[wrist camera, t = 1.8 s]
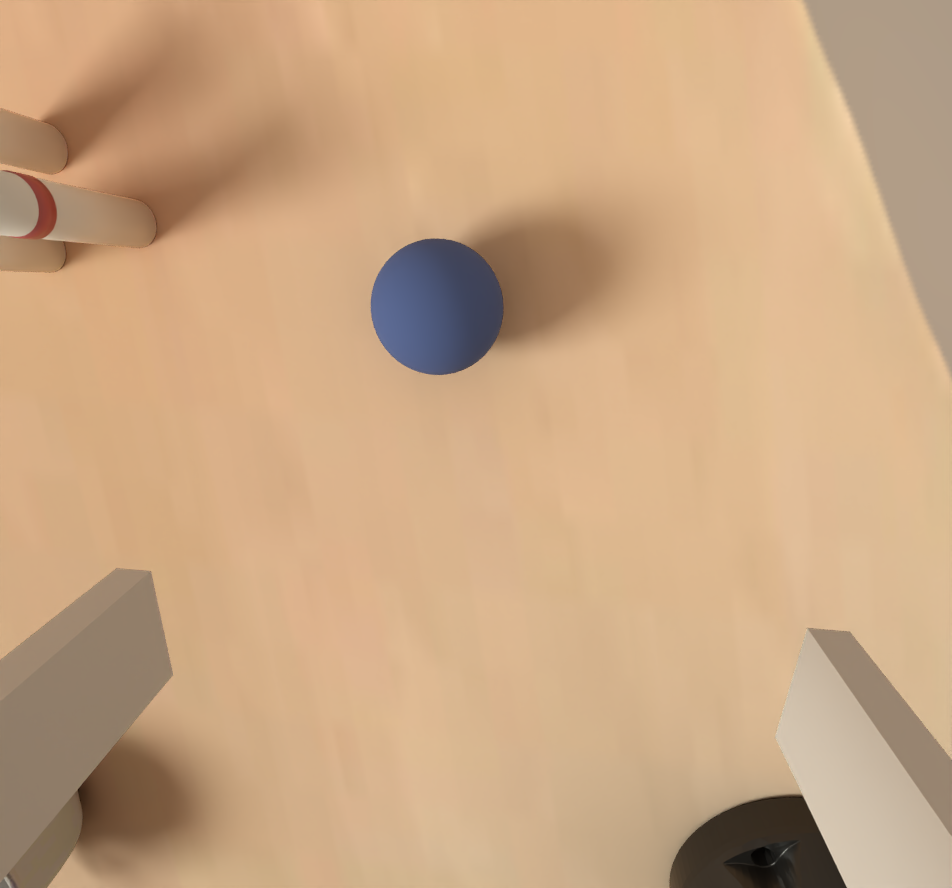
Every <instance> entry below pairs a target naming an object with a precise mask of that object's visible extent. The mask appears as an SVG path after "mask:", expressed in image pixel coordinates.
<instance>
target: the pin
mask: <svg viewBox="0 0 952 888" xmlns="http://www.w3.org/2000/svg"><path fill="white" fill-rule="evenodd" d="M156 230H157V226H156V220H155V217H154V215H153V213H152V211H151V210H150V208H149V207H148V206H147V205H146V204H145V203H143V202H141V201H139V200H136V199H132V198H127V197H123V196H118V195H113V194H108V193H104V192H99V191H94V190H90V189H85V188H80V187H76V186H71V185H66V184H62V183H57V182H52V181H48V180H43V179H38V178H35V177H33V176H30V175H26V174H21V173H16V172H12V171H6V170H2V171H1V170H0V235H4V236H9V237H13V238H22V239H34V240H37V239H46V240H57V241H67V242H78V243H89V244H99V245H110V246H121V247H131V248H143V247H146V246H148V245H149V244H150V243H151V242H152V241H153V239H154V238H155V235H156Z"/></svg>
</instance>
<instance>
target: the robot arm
mask: <svg viewBox="0 0 952 888" xmlns="http://www.w3.org/2000/svg"><path fill="white" fill-rule="evenodd" d="M172 675H173V672H172V667H171V663H170V658H169V653H168V649H167V644H166V639H165V635H164V630H163V625H162V621H161V616H160V611H159V607H158V602H157V597H156V593H155V588H154V583H153V579H152V574H151V571H143V570H132V569H120V568H116V569H115V570H114V571H112V572H111V573H110V574H109V575H107V576H106V577H105V578H104V579H102V580H101V581H100V582H98V583H97V584H96V585H95V586H93V587H92V588H91V589H90V590H88V591H87V592H86V593H84V594H83V595H82V596H81V597H79V598H78V599H77V600H76V601H74V602H73V603H72V604H71V605H69V606H68V607H67V608H65V609H64V610H63V611H62V612H60V613H59V614H58V615H57V616H55V617H54V618H53V619H51V620H50V621H49V622H48V623H46V624H45V625H44V626H43V627H41V628H40V629H39V630H38V631H36V632H35V633H34V634H32V635H31V636H30V637H29V638H27V639H26V640H25V641H24V642H22V643H21V644H20V645H18V646H17V647H16V648H15V649H13V650H12V651H11V652H10V653H8V654H7V655H6V656H5V657H3V658H2V659H1V660H0V882H1V881H2V880H3V879H4V878H5V876H6V875H7V874H8V873H9V872H10V870H11V869H12V868H13V867H14V865H15V864H16V863H17V862H18V861H19V859H20V858H21V857H22V856H23V855H24V853H25V852H26V851H27V850H28V849H29V847H30V846H31V845H32V844H33V843H34V841H35V840H36V839H37V838H38V837H39V835H40V834H41V833H42V832H43V831H44V829H45V828H46V827H47V826H48V825H49V823H50V822H51V821H52V820H53V819H54V817H55V816H56V815H57V814H58V813H59V811H60V810H61V809H62V808H63V807H64V805H65V804H66V803H67V802H68V801H69V799H70V798H71V797H72V796H73V795H74V793H75V792H76V791H77V790H78V788H79V787H80V786H81V785H82V784H83V782H84V781H85V780H86V779H87V778H88V776H89V775H90V774H91V773H92V772H93V770H94V769H95V768H96V767H97V766H98V764H99V763H100V762H101V761H102V760H103V758H104V757H105V756H106V755H107V754H108V752H109V751H110V750H111V749H112V748H113V746H114V745H115V744H116V743H117V742H118V740H119V739H120V738H121V737H122V736H123V734H124V733H125V732H126V731H127V730H128V728H129V727H130V726H131V725H132V724H133V722H134V721H135V720H136V719H137V718H138V716H139V715H140V714H141V713H142V711H143V710H144V709H145V708H146V707H147V705H148V704H149V703H150V702H151V701H152V699H153V698H154V697H155V696H156V695H157V693H158V692H159V691H160V690H161V689H162V687H163V686H164V685H165V684H166V683H167V681H168V680H169V679H170V678H171V677H172ZM775 738H776V740H777V742H778V744H779V746H780V748H781V751H782V753H783V755H784V757H785V759H786V761H787V763H788V765H789V767H790V769H791V772H792V774H793V776H794V778H795V780H796V782H797V784H798V786H799V788H800V790H801V792H802V795H803V797H804V798H777V799H768V800H762V801H757V802H753V803H749V804H745V805H742V806H739V807H736V808H733V809H731V810H728V811H726V812H724V813H722V814H720V815H718V816H716V817H714V818H713V819H711V820H710V821H708V822H706V823H705V824H704V825H702V826H701V827H700V828H699V829H697V830H696V831H695V832H694V833H693V834H692V835H691V836H690V837H689V838H688V839H687V840H686V842H685V843H684V844H683V846H682V847H681V849H680V850H679V852H678V854H677V855H676V858H675V860H674V862H673V865H672V869H671V873H670V888H952V760H951V758H950V757H949V756H948V755H947V753H946V752H945V751H944V749H943V748H942V747H941V746H940V744H939V743H938V742H937V741H936V739H935V738H934V737H933V736H932V734H931V733H930V732H929V731H928V729H927V728H926V727H925V726H924V724H923V723H922V722H921V721H920V719H919V718H918V717H917V716H916V714H915V713H914V712H913V710H912V709H911V708H910V707H909V705H908V704H907V703H906V702H905V700H904V699H903V698H902V697H901V695H900V694H899V693H898V692H897V690H896V689H895V688H894V687H893V685H892V684H891V683H890V682H889V680H888V679H887V678H886V676H885V675H884V674H883V673H882V671H881V670H880V669H879V668H878V666H877V665H876V664H875V663H874V661H873V660H872V659H871V658H870V656H869V655H868V654H867V653H866V651H865V650H864V649H863V648H862V646H861V645H860V644H859V643H858V641H857V640H856V639H855V637H854V636H853V635H852V634H851V632H847V631H836V630H824V629H813V628H807V630H806V634H805V637H804V640H803V644H802V647H801V651H800V654H799V657H798V661H797V664H796V668H795V671H794V674H793V678H792V681H791V685H790V688H789V691H788V695H787V698H786V702H785V705H784V708H783V712H782V715H781V718H780V722H779V725H778V729H777V732H776V735H775Z"/></svg>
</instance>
